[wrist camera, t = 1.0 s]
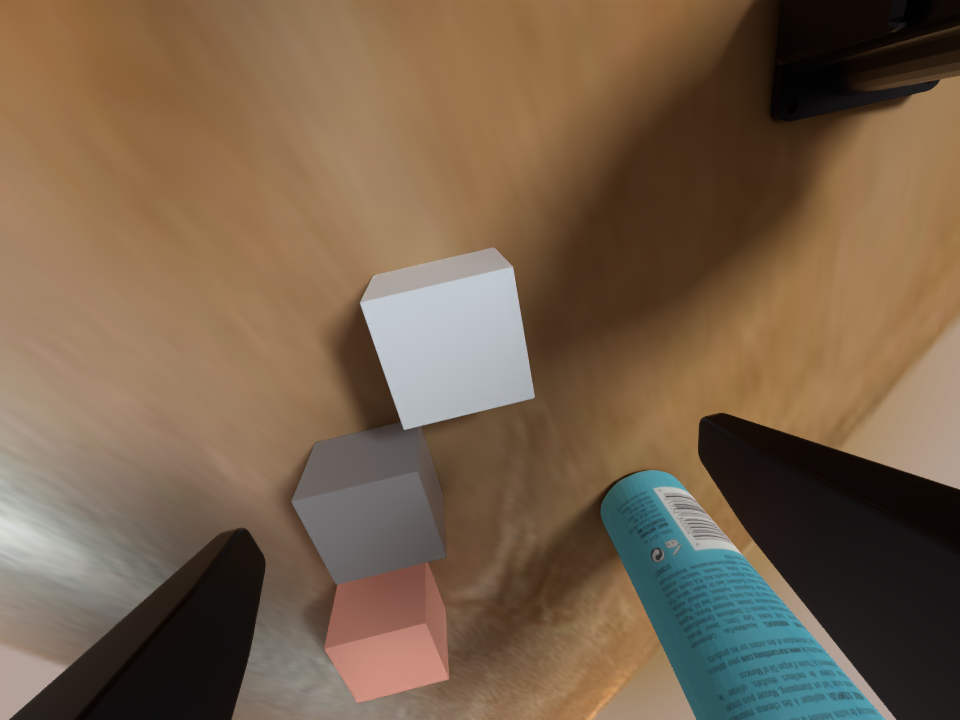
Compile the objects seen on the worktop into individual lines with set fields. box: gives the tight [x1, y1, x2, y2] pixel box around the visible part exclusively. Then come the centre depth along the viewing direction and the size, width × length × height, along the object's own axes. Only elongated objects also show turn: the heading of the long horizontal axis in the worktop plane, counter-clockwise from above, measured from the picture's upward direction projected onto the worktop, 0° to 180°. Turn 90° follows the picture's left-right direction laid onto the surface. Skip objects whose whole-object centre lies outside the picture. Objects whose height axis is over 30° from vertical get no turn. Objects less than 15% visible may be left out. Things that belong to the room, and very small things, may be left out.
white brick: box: [360, 247, 535, 430], centre depth 16 cm, size 5×5×4 cm
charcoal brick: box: [291, 422, 447, 585], centre depth 19 cm, size 5×5×4 cm
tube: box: [600, 470, 885, 720], centre depth 15 cm, size 7×5×19 cm, turn 98°
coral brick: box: [324, 562, 449, 703], centre depth 23 cm, size 5×5×4 cm
